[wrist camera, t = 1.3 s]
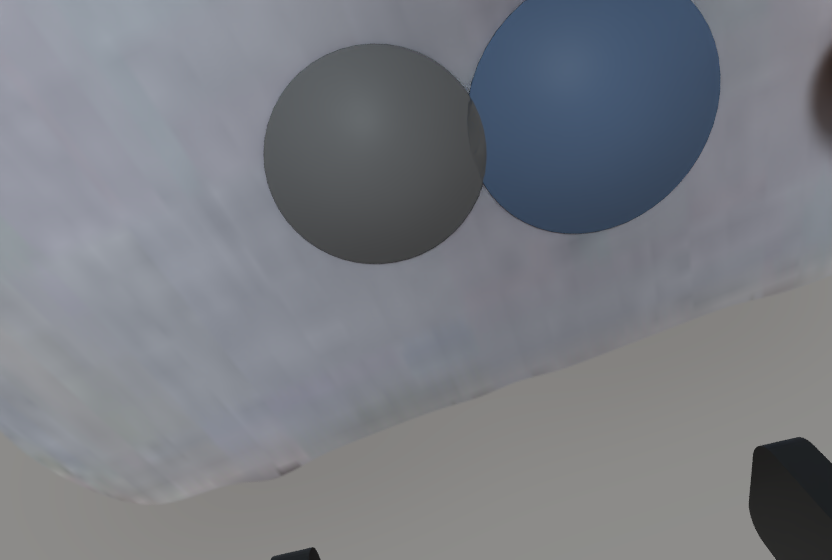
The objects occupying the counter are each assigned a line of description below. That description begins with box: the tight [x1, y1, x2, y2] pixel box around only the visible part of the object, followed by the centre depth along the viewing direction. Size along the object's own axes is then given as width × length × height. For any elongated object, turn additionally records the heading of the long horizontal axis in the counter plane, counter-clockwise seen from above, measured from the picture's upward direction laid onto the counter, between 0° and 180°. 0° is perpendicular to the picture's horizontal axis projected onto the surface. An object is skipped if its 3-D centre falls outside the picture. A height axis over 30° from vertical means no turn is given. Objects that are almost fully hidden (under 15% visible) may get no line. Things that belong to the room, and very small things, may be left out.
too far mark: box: [264, 44, 487, 264], centre depth 33 cm, size 12×12×1 cm
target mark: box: [467, 0, 720, 233], centre depth 33 cm, size 14×14×1 cm
